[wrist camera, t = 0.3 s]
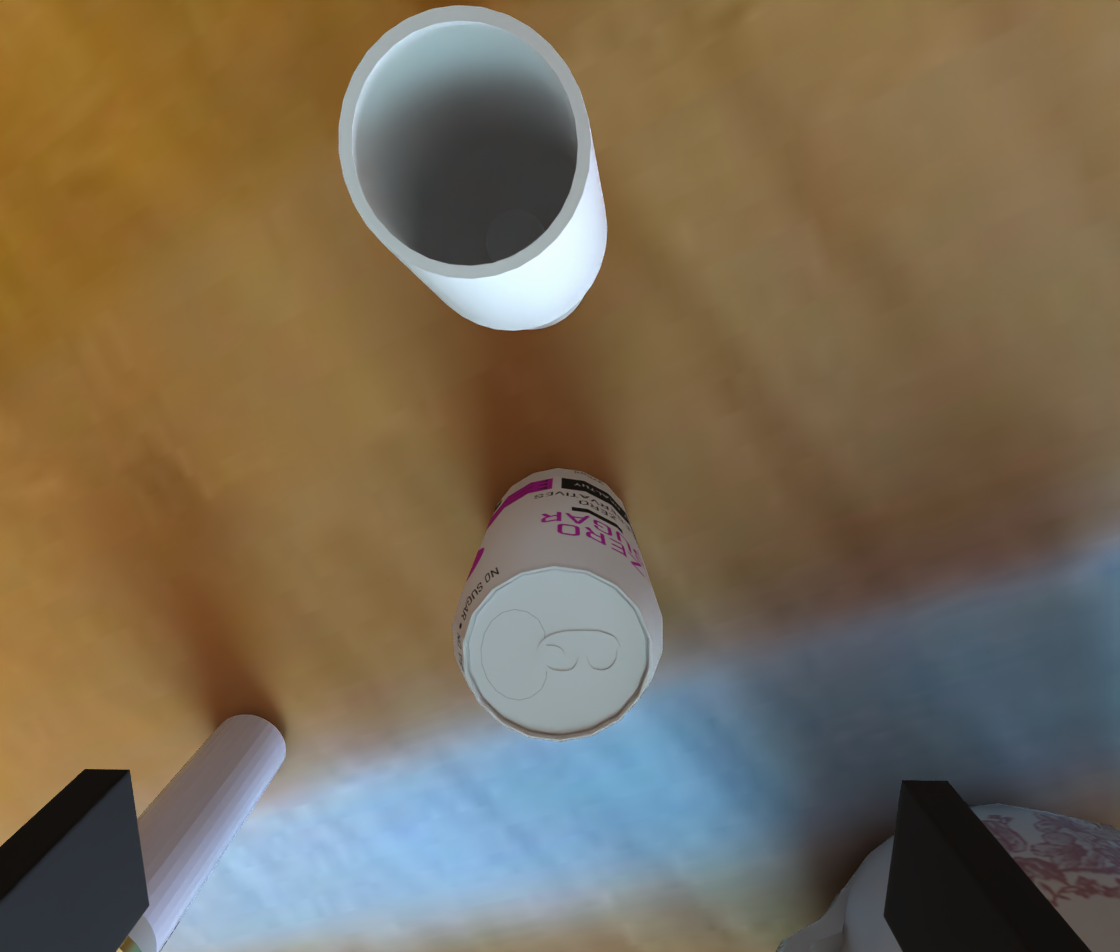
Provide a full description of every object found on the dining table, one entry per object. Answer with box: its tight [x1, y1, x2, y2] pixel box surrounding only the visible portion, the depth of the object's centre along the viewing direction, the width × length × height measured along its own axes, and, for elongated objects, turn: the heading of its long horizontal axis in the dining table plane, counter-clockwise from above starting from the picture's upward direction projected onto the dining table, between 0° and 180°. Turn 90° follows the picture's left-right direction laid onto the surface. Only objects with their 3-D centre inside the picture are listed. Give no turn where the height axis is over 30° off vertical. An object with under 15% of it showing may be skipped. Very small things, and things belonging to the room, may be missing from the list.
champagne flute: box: [339, 5, 607, 331], centre depth 24 cm, size 7×7×24 cm
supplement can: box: [452, 468, 663, 742], centre depth 32 cm, size 8×8×15 cm
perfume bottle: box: [116, 714, 286, 952], centre depth 32 cm, size 6×6×20 cm
